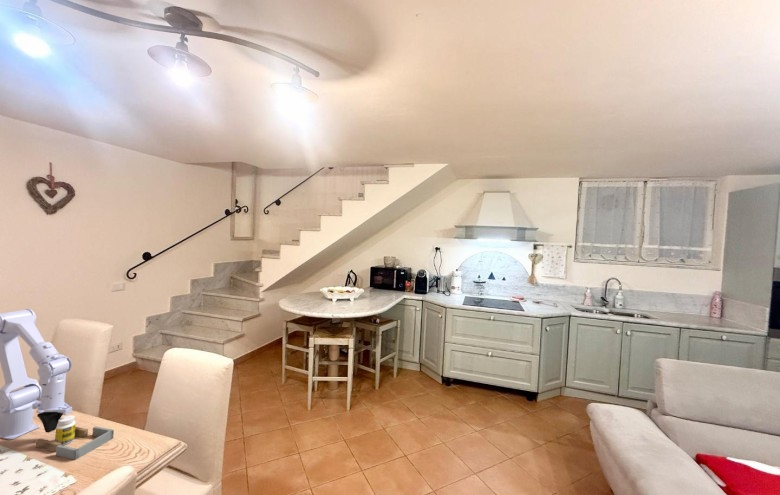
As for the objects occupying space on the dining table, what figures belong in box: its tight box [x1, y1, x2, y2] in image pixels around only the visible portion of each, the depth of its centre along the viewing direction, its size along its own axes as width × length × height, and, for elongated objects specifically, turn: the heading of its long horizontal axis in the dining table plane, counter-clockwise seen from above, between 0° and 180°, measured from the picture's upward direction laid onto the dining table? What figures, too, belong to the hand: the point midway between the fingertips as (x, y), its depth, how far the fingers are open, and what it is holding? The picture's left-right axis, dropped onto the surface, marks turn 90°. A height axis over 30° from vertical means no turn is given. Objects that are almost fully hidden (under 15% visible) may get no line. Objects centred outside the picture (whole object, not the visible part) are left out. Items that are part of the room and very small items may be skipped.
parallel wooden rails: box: [35, 426, 89, 453], centre depth 107 cm, size 9×9×2 cm
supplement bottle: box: [54, 414, 77, 446], centre depth 107 cm, size 5×5×8 cm
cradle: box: [55, 425, 115, 461], centre depth 105 cm, size 8×12×3 cm
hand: (50, 430), depth 108 cm, fingers closed
